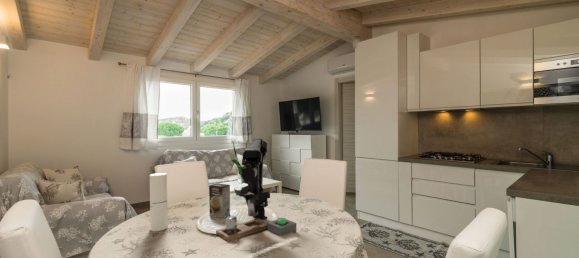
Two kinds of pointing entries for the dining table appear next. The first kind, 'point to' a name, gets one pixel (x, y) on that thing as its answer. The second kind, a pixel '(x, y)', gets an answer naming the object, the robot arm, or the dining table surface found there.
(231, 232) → the billet seated
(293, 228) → the button housing
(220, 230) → the brown wooden pocket tray
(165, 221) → the cylindrical container
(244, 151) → the robot arm
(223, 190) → the coffee box
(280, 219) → the button
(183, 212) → the dining table surface
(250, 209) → the billet loose
